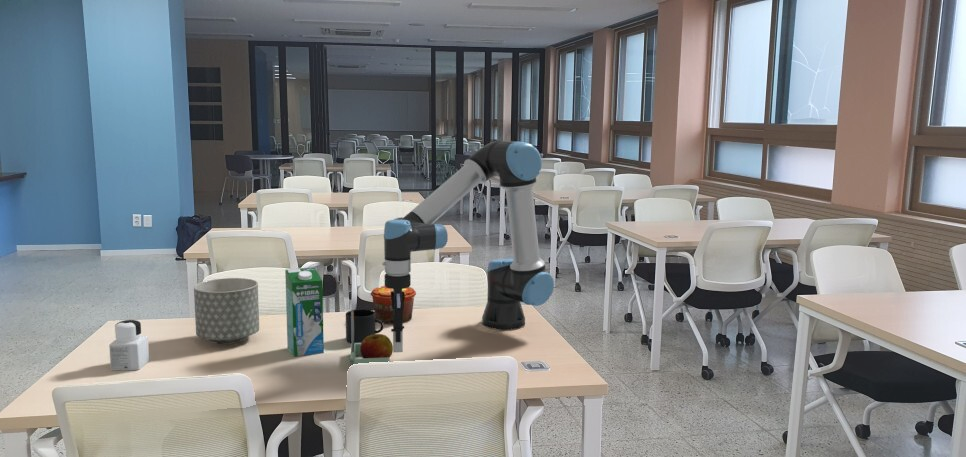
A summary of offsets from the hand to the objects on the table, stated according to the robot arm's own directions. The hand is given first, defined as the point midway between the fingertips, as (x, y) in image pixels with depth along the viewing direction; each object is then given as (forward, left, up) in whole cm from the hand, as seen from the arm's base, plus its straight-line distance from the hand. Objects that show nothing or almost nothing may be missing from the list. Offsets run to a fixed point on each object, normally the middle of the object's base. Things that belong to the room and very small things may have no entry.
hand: (397, 351), depth 209 cm
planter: (+53, -26, -3) cm, 59 cm away
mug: (+10, -21, -3) cm, 23 cm away
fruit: (+6, 0, -3) cm, 7 cm away
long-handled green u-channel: (+9, 0, -3) cm, 9 cm away
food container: (0, -44, -3) cm, 44 cm away
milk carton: (+28, -13, -3) cm, 31 cm away
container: (+76, -5, -3) cm, 76 cm away
